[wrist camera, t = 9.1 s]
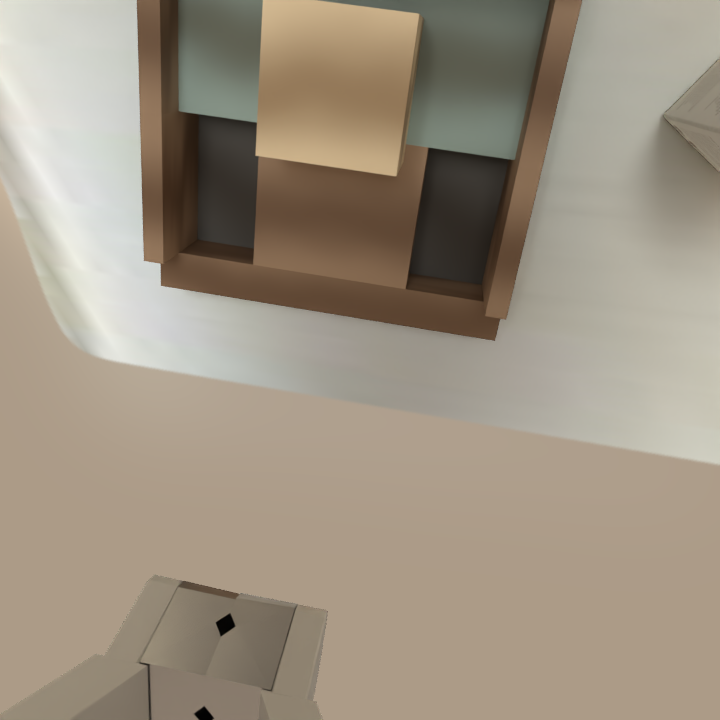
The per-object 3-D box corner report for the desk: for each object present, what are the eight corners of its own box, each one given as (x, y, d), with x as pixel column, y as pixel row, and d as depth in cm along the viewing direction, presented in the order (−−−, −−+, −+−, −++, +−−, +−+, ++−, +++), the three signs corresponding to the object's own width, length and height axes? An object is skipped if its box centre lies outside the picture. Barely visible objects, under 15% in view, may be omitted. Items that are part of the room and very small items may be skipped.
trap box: (182, -80, 30) (110, -115, 24) (572, -31, 29) (603, -55, 23) (182, 269, 38) (127, 312, 31) (492, 319, 36) (499, 374, 30)
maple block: (287, 0, 28) (263, -7, 25) (424, 18, 28) (419, 13, 24) (278, 143, 31) (255, 155, 27) (403, 161, 30) (396, 176, 27)
